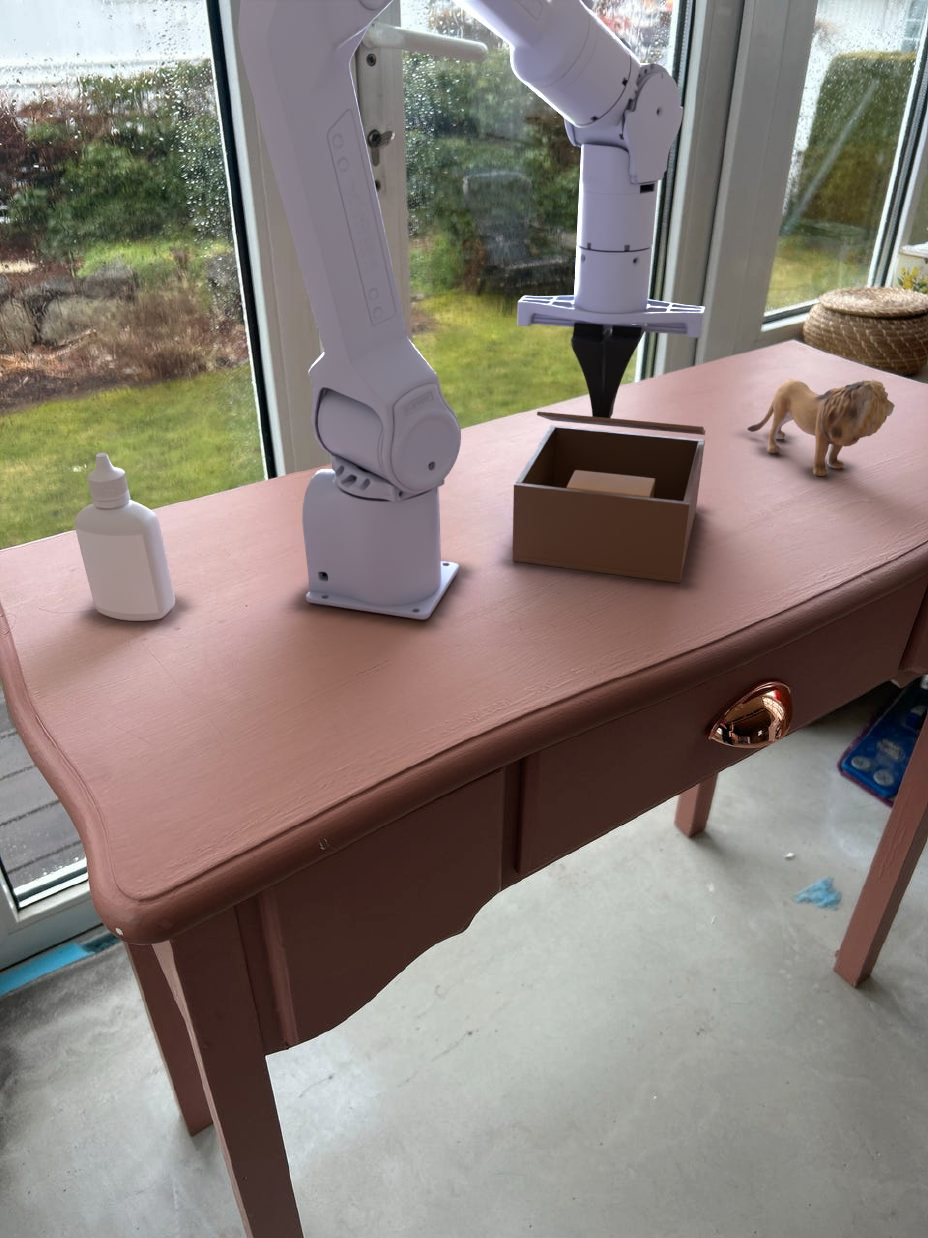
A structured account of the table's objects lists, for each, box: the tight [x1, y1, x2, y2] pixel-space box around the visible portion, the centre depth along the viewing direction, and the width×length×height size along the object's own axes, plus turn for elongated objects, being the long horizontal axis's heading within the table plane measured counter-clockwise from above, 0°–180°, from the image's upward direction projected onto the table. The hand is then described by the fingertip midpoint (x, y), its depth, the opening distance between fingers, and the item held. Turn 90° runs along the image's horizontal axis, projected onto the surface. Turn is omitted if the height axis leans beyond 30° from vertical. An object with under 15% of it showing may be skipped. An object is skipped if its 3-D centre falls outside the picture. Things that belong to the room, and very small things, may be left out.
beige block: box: [566, 470, 655, 498], centre depth 76 cm, size 6×4×5 cm, turn 73°
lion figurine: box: [746, 379, 895, 477], centre depth 89 cm, size 15×5×9 cm, turn 33°
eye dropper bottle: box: [74, 452, 176, 622], centre depth 66 cm, size 4×6×12 cm
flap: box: [536, 411, 706, 436], centre depth 77 cm, size 13×6×1 cm, turn 73°
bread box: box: [511, 424, 706, 584], centre depth 77 cm, size 13×13×6 cm
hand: (602, 416), depth 80 cm, fingers closed, pressing on flap
